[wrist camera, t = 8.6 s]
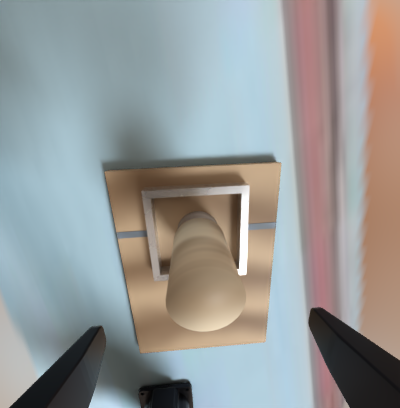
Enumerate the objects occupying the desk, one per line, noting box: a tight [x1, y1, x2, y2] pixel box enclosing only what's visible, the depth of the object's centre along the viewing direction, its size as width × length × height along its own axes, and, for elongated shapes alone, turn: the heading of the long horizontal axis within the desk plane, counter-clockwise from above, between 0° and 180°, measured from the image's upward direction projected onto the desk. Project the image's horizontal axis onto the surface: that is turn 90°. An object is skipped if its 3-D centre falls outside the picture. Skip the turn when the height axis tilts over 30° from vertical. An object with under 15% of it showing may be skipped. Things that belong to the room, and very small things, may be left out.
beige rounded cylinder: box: [166, 211, 246, 332], centre depth 14 cm, size 4×4×8 cm
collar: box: [141, 182, 250, 281], centre depth 17 cm, size 8×8×1 cm
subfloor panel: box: [105, 162, 281, 353], centre depth 19 cm, size 20×14×1 cm
